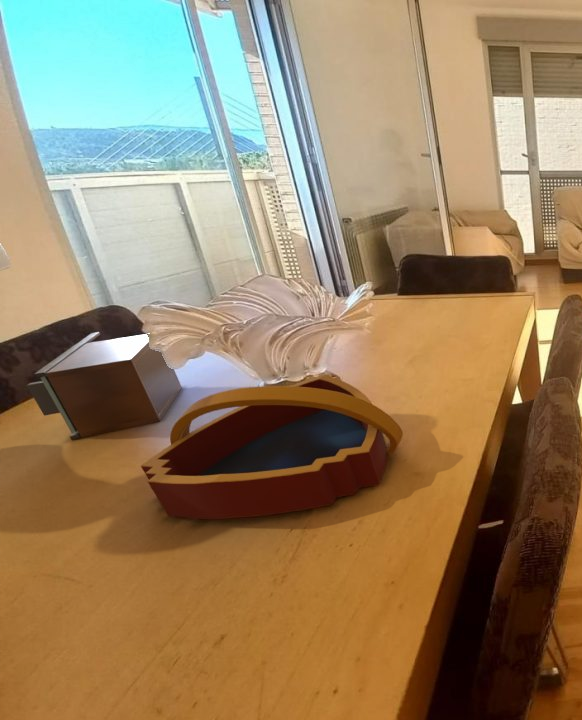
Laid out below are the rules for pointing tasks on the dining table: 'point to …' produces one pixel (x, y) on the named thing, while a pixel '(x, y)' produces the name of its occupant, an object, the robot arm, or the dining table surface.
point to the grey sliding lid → (49, 400)
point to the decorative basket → (273, 451)
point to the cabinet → (112, 384)
